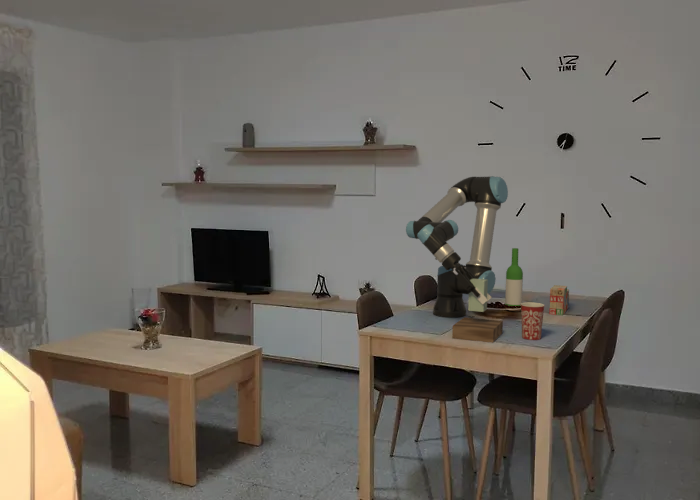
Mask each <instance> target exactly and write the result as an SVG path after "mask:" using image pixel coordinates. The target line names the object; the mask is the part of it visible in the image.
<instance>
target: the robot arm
mask: <svg viewBox="0 0 700 500" xmlns="http://www.w3.org/2000/svg"><path fill="white" fill-rule="evenodd" d="M508 195H509V190H508V185H507V183H506V181H505V179H504V178H502V177H500V176H493V175H492V176H470V177H466V178H463V179H462V180H460V181H458V182H457V183H455V184H453V185H452V186H451V187H450V188H448V191H447V194H446V195H445V196H443V197H442V198H441V199H440V200H439V201H438V202H437V203H436V204H434V205H433V206H432V207H431V208H430V209H429V210H428V211H427V212H425V213H424V215H422V216H421V217H420V218H419V219H418V220H410V221H408V223H407V224H406V226H405V227H406V228H405V232H406V236H407V237H408V238H409V239H416V240H419V241H420V242H421V244H422V245H423V246H425V248H426V249H427V250H428V251H429V252H430V253H431V254H432V256H434V260H436V261H438V262H439V263H441V266H439V267H438V269H437V276H436V277H437V284H436V285H437V289H436V291H437V293H436V296H437V297H436V300H435V303H434V305H433V309H432V314H433V315H435V316H438V317H442V318H444V317H445V318H460V317H465V316H467V309H466V306H465V305H466V304H465V302H464V297H463V296H464V295H469V293H470V292H472V294H473V295H474V296H475V297H476V298H477V299H478V300H479V301H480V302H481V304H482V305H483V304H484V303H485V302H486V301H487V302H489V300H491V299H492V298H493V297H492V296H491V295H490V294H491V292H492V291H493V290H494V288H495V284H496V281H497V280H496V274H495V272H494V271H493V270H492V269H493V267H492V266H491V264H490V258H491V252H492V247H493V246H492V243H493V238H494V230H495V224H496V218H497V212H498V210H500V209H501V206H502V204H503V203H505V202H506V201H507V200H508V197H509V196H508ZM468 203H474V206H475V207H476V215H475V222H474V229H473V236H472V242H471V250H470V256H469V261H468V262H466V263H465V265H464V264H463V263H462V264H461V263H460V261H461V259H462V258H461V256H460V255H459V254H458V253H457V252H455V249H454V248H453V247H452V246H451V245H450V244H449V243H448V241H450V240H452V239H453V238H454V237H455V236H457V234H458V233H459V226H458V224H457V222H455V221H454V220H452V219H447V218H448V217H449V216H450V214H452V213H453V212H454V211H455V210H456V209H457V208H458V207H462V206H463V205H465V204H468ZM445 219H447V220H445ZM471 279H486V280H488V288H487V298H486V297H485V296H484V295H483V294H482V293H481V292H480V291H479V290H478V288H477V287H476V288H475V286H474V285H473V284H472V282H471V281H470V280H471Z"/></svg>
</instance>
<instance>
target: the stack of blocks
mask: <svg viewBox="0 0 700 500" xmlns="http://www.w3.org/2000/svg"><path fill="white" fill-rule="evenodd" d="M569 305H570V289H568V286H567V285H559V284H557V285H556V284H554V285H553V286H552V287H550V290H549V310H548V311H549V313H548V314H549V315H555V316H557V315H558V316H564V315H565V313H566V312H567V311H568V309H569V307H570V306H569Z"/></svg>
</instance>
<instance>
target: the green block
mask: <svg viewBox="0 0 700 500" xmlns="http://www.w3.org/2000/svg"><path fill="white" fill-rule="evenodd" d="M470 281H471V282H472V284H473V285H474V286H475V288H476V287H477V288H478V290H479V291H480V292H481V293H482V294H483V295H484V296H485V297H486V298H487V288H488V280H486V279H471V280H470ZM467 303H468V309H467V310H468V311H470V312H479V313H481V312H482V313H484V312H485V311H486V310H487V308H488V301H486V302H485V303H484V304H483V305H482V304H481V302H480V301H479V300H478V299H477V298H476V297H475V296H474V295H473V294H472V292H470V293H469V294H468V302H467Z"/></svg>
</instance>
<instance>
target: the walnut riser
mask: <svg viewBox="0 0 700 500" xmlns="http://www.w3.org/2000/svg"><path fill="white" fill-rule="evenodd" d="M503 328H504V321H503V320H497V319H495V320H494V319H486V318H473V317H465V316H463V318H461V319H460V320H458V321H457V322H455V324H453V325H452V331H451V333H452V335H451V339H452V340H453V339H454V340H456V339H457V340H462V341H463V340H464V341H474V342H482V343H483V342H484V343H492V344H494V342H495V341H496V340H497V339H498V338H499V337H500V336H501V335H502V334H503V333H504V332H503Z"/></svg>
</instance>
